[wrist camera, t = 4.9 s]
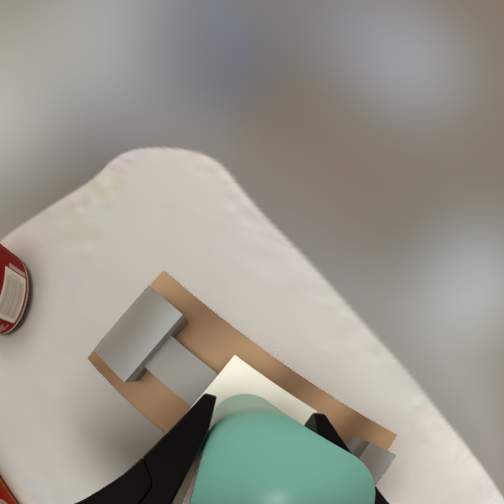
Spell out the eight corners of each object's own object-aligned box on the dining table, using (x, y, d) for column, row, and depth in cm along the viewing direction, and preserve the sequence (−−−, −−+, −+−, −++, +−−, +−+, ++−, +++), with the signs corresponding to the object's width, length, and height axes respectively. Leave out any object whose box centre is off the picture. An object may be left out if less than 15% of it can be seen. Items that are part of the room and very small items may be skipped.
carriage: (299, 404, 14) (451, 449, 3) (249, 465, 12) (302, 606, 1) (232, 357, 15) (257, 326, 4) (180, 419, 13) (86, 515, 2)
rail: (392, 433, 14) (417, 439, 12) (327, 517, 11) (343, 536, 8) (165, 273, 18) (155, 254, 15) (91, 358, 15) (68, 355, 12)
